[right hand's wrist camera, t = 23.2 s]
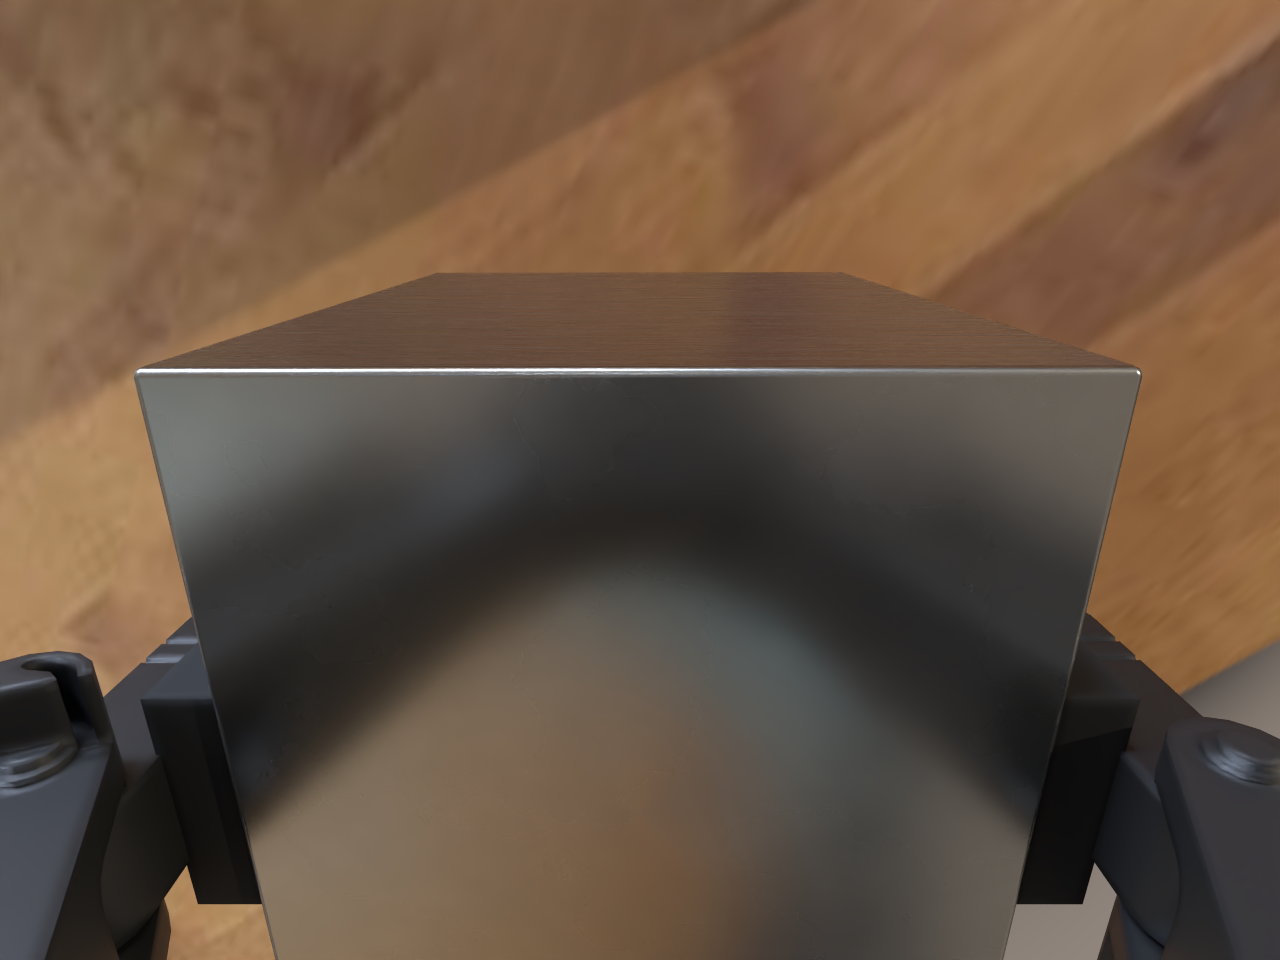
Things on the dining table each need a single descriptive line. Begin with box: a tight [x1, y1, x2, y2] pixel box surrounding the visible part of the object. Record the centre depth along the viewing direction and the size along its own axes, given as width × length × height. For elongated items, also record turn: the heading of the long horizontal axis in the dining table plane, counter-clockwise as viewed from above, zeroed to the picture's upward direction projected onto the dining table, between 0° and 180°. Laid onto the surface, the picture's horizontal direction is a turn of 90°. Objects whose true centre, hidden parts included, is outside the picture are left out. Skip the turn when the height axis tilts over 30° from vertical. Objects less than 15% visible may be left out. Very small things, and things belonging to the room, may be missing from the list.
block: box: [134, 272, 1142, 960], centre depth 12 cm, size 8×9×9 cm
